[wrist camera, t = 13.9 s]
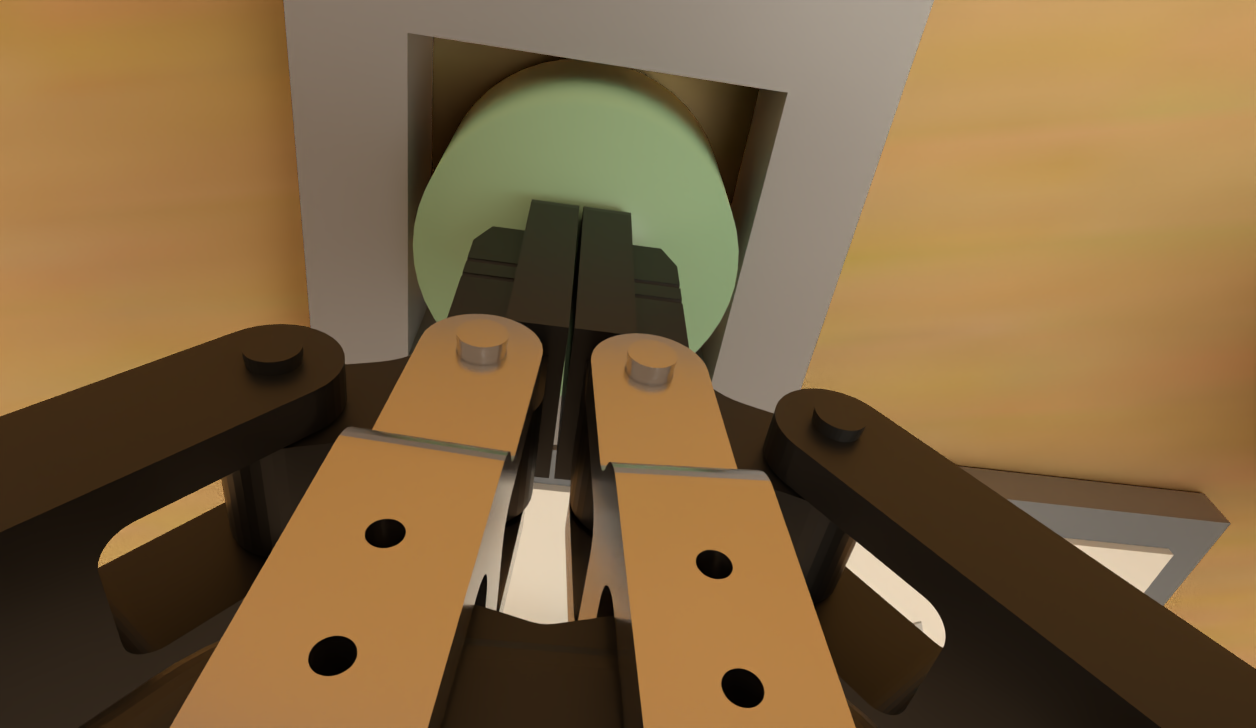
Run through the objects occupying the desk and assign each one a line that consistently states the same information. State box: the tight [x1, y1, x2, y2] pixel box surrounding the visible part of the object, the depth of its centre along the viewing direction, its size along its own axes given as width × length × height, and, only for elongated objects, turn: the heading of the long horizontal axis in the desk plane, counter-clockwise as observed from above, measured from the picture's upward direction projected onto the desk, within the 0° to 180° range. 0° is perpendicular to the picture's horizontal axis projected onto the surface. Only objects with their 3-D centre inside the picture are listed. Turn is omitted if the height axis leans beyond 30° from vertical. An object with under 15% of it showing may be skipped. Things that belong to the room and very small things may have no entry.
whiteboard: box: [503, 445, 1231, 648], centre depth 22 cm, size 18×13×1 cm
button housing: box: [283, 0, 934, 445], centre depth 14 cm, size 9×9×2 cm
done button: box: [413, 59, 739, 396], centre depth 13 cm, size 5×5×2 cm
